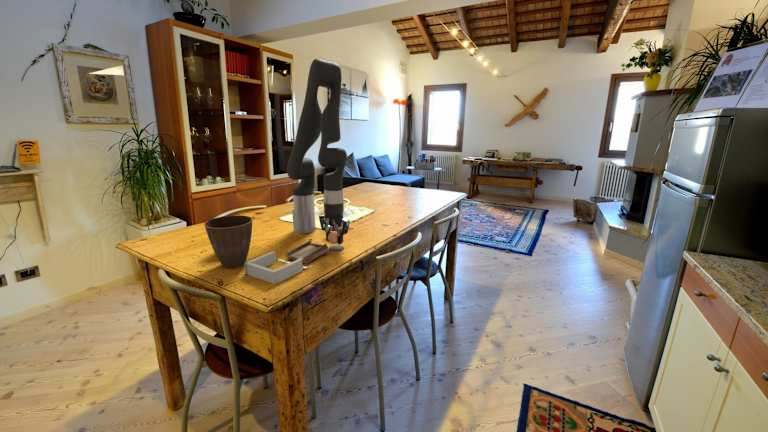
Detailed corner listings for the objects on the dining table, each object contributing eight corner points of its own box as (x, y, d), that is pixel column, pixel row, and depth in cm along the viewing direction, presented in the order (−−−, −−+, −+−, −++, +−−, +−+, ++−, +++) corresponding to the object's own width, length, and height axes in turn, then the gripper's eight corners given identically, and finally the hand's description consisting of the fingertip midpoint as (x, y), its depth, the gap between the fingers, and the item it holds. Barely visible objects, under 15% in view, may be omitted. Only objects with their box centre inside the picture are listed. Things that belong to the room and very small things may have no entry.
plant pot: (261, 267, 117) (256, 223, 112) (213, 277, 109) (207, 230, 105) (251, 253, 129) (247, 213, 125) (208, 261, 121) (202, 219, 117)
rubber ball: (325, 244, 133) (325, 232, 131) (333, 240, 137) (333, 228, 136) (335, 246, 130) (335, 234, 129) (343, 242, 134) (343, 231, 133)
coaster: (325, 249, 133) (325, 248, 133) (335, 245, 138) (335, 244, 138) (337, 252, 130) (337, 251, 130) (347, 247, 135) (346, 246, 135)
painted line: (277, 260, 123) (277, 259, 123) (279, 259, 124) (279, 258, 123) (305, 268, 116) (305, 268, 116) (307, 267, 117) (307, 267, 117)
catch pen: (245, 274, 112) (244, 262, 110) (273, 261, 121) (273, 251, 120) (275, 284, 105) (274, 272, 104) (302, 270, 115) (301, 259, 113)
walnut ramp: (286, 259, 124) (285, 249, 123) (309, 249, 134) (308, 239, 133) (306, 265, 119) (305, 254, 118) (328, 254, 129) (328, 244, 128)
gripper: (312, 200, 129) (314, 241, 134) (342, 205, 122) (342, 249, 127) (325, 196, 135) (327, 236, 140) (354, 201, 128) (354, 243, 133)
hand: (334, 242), depth 134 cm, fingers closed on rubber ball, 5 cm apart
